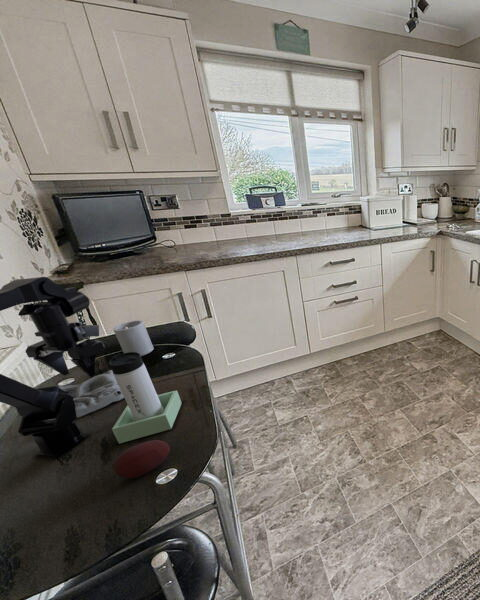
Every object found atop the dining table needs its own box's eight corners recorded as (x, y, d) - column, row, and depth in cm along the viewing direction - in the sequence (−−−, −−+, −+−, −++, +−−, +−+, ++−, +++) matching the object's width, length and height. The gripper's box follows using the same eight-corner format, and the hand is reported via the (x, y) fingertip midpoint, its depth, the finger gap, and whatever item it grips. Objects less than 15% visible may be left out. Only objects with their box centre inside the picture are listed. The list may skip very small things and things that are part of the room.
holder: (118, 443, 82) (111, 429, 80) (135, 415, 92) (129, 402, 91) (171, 429, 86) (165, 414, 84) (181, 403, 96) (176, 390, 94)
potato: (121, 470, 74) (110, 449, 72) (173, 447, 79) (164, 427, 77) (118, 492, 68) (106, 471, 66) (174, 466, 74) (165, 445, 71)
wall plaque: (128, 398, 101) (124, 387, 99) (42, 431, 89) (35, 420, 88) (124, 370, 117) (119, 360, 116) (50, 395, 106) (45, 385, 104)
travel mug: (154, 410, 93) (128, 348, 85) (170, 414, 90) (144, 351, 83) (131, 425, 87) (100, 361, 80) (147, 430, 85) (117, 364, 78)
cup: (140, 358, 125) (128, 330, 121) (119, 358, 126) (107, 330, 122) (159, 346, 134) (148, 319, 129) (139, 347, 135) (128, 320, 130)
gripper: (112, 311, 90) (133, 360, 96) (59, 311, 94) (83, 358, 99) (67, 330, 80) (94, 383, 85) (10, 329, 83) (40, 380, 89)
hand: (79, 375), depth 90 cm, fingers open, 9 cm apart
